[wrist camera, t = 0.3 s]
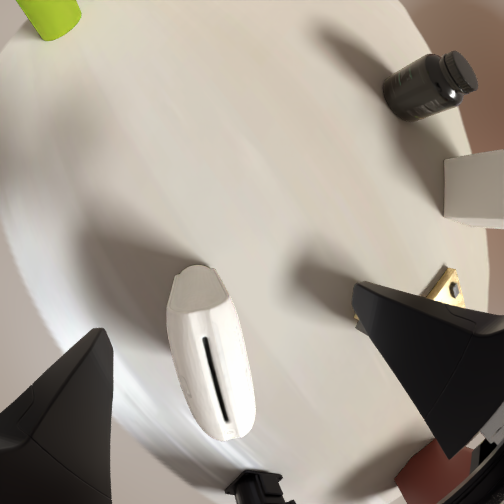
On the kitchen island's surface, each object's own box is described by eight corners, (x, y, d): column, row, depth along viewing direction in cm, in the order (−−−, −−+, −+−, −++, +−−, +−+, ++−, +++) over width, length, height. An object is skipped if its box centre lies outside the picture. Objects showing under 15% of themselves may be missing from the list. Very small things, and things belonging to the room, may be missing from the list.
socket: (414, 390, 33) (422, 396, 31) (389, 339, 30) (400, 344, 28) (463, 328, 34) (472, 331, 32) (448, 267, 31) (458, 269, 29)
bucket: (461, 430, 42) (516, 468, 18) (410, 488, 41) (455, 533, 17) (430, 426, 36) (506, 482, 12) (363, 497, 36) (416, 562, 11)
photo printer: (236, 360, 26) (270, 446, 14) (194, 368, 25) (203, 460, 13) (217, 260, 24) (244, 294, 12) (170, 268, 23) (150, 311, 11)
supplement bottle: (423, 107, 28) (485, 84, 17) (408, 132, 28) (479, 109, 16) (392, 70, 27) (451, 35, 15) (373, 91, 26) (441, 53, 15)
